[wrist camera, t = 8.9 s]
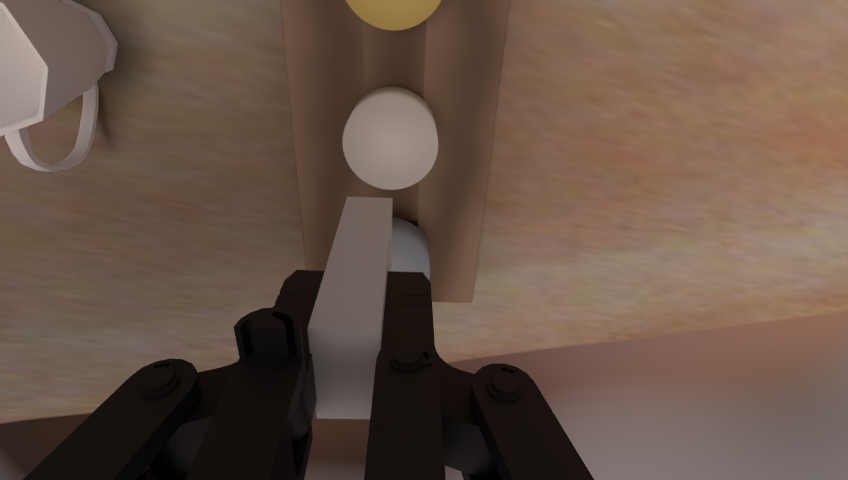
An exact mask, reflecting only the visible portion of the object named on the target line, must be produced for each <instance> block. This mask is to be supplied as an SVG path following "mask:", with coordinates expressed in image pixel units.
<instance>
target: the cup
mask: <svg viewBox="0 0 848 480" xmlns="http://www.w3.org/2000/svg"><path fill="white" fill-rule="evenodd" d="M117 47H118V42H117V41H116V39H115V37H114V36H113V34H112V32H111V31H110V29H109V28H108V26H107V24H106V23H105V21H104V19H103V18H102V16H101V14H100V13H98V12H96V11H93V10H91V9H89V8H87V7H85V6H83V5H81V4H79V3H77V2H75V1H73V0H61V1H60V0H0V136H2V135H4V136H5V139H6V141H7V143H8V145H9V147H10V149H11V151H12V154H13V155H14V156H15V157H16V159H17V160H18V161H19V162H20V163H21V164H23V165H25V166H27V167H30V168H32V169H34V170H37V171H50V172H52V171H60V170H67V169H70V168H72V167H75V166H77V165H80V163H81V162H82V161H83V160H84V159H85V158H86V157H87V155H88V154H89V152H90V149H91V146H92V143H93V140H94V135H95V129H96V123H97V115H98V108H99V87H98V83H97V81H98V80H99V79H100V78H101V77H102V76H103V74H104V73H106V72H108V71H111V70H114V64H115V59H116V53H117ZM81 94H83V108H82V115H81V122H80V128H79V133H78V137H77V141H76V144H75V147H74V150H73V151H72V152H71V153H70V154H69V155H68V156H67V157H66V159H65V160H62V161H59V162H56V163H53V164H47V163H45V162H43V161H40V160H38V159H37V158H36V156H35V155H34V154H33V152H32V149H31V144H30V140H29V135H28V128H27V126H29V125H32V124H35V123H37V122H40V121H43V120H44V119H46V118H47V117H49V116H50V115H52V114H53V113H55V112H56V111H58V110H59V109H61V108H62V107H63V106H65V105H66V104H68V103H69V102H70V101H72V100H74V99H75V98H77V97H78V96H80V95H81Z"/></svg>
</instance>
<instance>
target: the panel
mask: <svg viewBox="0 0 848 480" xmlns="http://www.w3.org/2000/svg"><path fill="white" fill-rule="evenodd" d="M509 2H510V0H441V2H440V4H439V5H438V7H437V8H436V10H435V11H434V12H433V13H432V14H431V15H430V16H429V17H428V18H427V19H426V20H424V21H423V22H421V23H420V24H418V25H416V26H414V27H411V28H408V29H404V30H393V31H392V30H384V29H380V28H377V27H375V26H372V25H370V24H369V23H367V22H365V21H364V20H362V19H361V18H360V17H359V16H358V15H357V14H356V13H355V12H354V11H353V10H352V9H351V8H350V6H349V5H348V4H347V2H346V0H280V3H281V13H282V24H283V34H284V44H285V55H286V65H287V76H288V86H289V96H290V107H291V117H292V127H293V138H294V148H295V158H296V169H297V179H298V190H299V200H300V210H301V221H302V231H303V241H304V252H305V262H306V270H315V271H325V269H326V265H327V262H328V259H329V255H330V252H331V249H332V245H333V242H334V239H335V235H336V232H337V229H338V225H339V222H340V219H341V215H342V212H343V209H344V206H345V202H346V199H347V197H375V198H393V205H392V218H398V219H402V220H405V221H408V222H410V223H412V224H413V225H415V226H416V227H417V228H419V229H420V230H421V232H422V233H423V234H424V236H425V237H426V239H427V242H428V246H429V260H430V278H429V281H430V283H431V295H432V296H431V298H432V302H467V303H472V299H473V291H474V283H475V275H476V267H477V259H478V251H479V243H480V235H481V227H482V219H483V211H484V203H485V195H486V187H487V179H488V171H489V163H490V155H491V147H492V139H493V131H494V123H495V115H496V107H497V99H498V91H499V82H500V74H501V66H502V58H503V50H504V42H505V34H506V26H507V18H508V10H509ZM391 86H394V87H401V88H405V89H407V90H410V91H412V92H414V93H415V94H417V95H418V96H420V97H421V98H422V99H423V100H424V101H425V102H426V103H427V105H428V106H429V108H430V109H431V111H432V113H433V116H434V119H435V122H436V129H437V136H438V153H437V157H436V160H435V163H434V165H433V167H432V168H431V170H430V171H429V172H428V174H427V175H426V176H425V177H424V178H423V179H421V180H420V181H419V182H417V183H415V184H414V185H412V186H409V187H406V188H403V189H397V190H388V189H381V188H377V187H374V186H372V185H370V184H368V183H366V182H365V181H363V180H362V179H360V178H359V177H358V176H357V175H356V174H355V173H354V172H353V170H352V169H351V168H350V166H349V164H348V163H347V161H346V158H345V155H344V151H343V144H342V143H343V132H344V129H345V126H346V123H347V121H348V119H349V117H350V115H351V113H352V111H353V109H354V107H355V105H356V104H357V103H358V101H359V100H360V99H361V98H362V97H363V96H365V95H366V94H368V93H369V92H371V91H373V90H375V89H378V88H381V87H391Z"/></svg>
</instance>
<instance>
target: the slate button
mask: <svg viewBox="0 0 848 480" xmlns="http://www.w3.org/2000/svg"><path fill="white" fill-rule="evenodd" d="M391 271H397V272H423V273H424V274H425V276H426V277H427V279H428V280H429V278H430V260H429V246H428V242H427V239H426V237H425V236H424V234H423V233H422V232H421V230H420V229H419V228H417V227H416V226H415V225H413V224H412V223H410V222H408V221H405V220H402V219H398V218H392V268H391Z"/></svg>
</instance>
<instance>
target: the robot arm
mask: <svg viewBox="0 0 848 480" xmlns="http://www.w3.org/2000/svg"><path fill="white" fill-rule="evenodd" d="M392 205H393V198H375V197H347V199H346V202H345V206H344V209H343V212H342V215H341V219H340V222H339V225H338V229H337V232H336V235H335V239H334V242H333V245H332V249H331V252H330V255H329V259H328V262H327V265H326V269H325V271H315V270H296V271H295V272H294V273H293V274H292V275H290V276H289V277H288V278H287V279H286V280H285V281H284V283H283V286H282V288H281V290H280V294H279V295H278V297H277V300H276V302H275V305H274V307H273V308H263V309H260V310H257V311H254V312H251V313H249V314H247V315H246V316H244V317H243V318H241V319H240V320H239V321H238V322H237V324H236V325H235V326H234V331H235V336H236V341H237V346H238V351H239V355H240V358H239V360H238V362H236V363H233V364H231V365H228V366H225V367H221V368H217V369H212V370H208V371H203V372H198V373H197V370H196V369H195V367H194V366H193V364H192V363H190V362H187V361H185V360H183V359H167V360H162V361H157V362H154V363H152V364H150V365H148V366H145V367H143V368H141V369H140V370H139V371H137V372H136V373H135V374H133V375H132V376H131V377H130V378H129V379H127V380H126V381H125V382H124V383H123V384H122V385H121V386H120V387H119V388H118V389H117V390H116V391H115V392H114V393H113V394H112V395H111V396H110V397H109V398H108V399H107V400H106V401H105V402H103V403H102V404H101V405H100V406H99V407H98V408H97V409H96V410H95V411H94V412H93V413H92V414H91V415H90V416H89V417H88V418H87V419H86V420H85V421H84V422H83V423H82V424H81V425H80V426H78V427H77V428H76V430H74V431H73V432H72V433H71V434H70V435H69V436H68V437H67V438H66V439H65V440H64V441H63V442H62V443H61V444H60V445H59V446H58V447H57V448H56V449H54V451H52V452H51V454H49V455H48V456H47V457H46V458H45V459H44V460H43V461H42V462H41V463H40V464H39V465H38V466H37V467H36V468H35V469H34V470H33V471H32V472H31V473H29V475H27V476H26V477H25V478H24V479H23V480H304V477H305V472H306V467H307V463H308V458H309V453H310V449H311V444H312V440H313V437H312V423H311V422H312V418H313V413H314V409H315V407H316V417H317V418H329V419H335V418H336V419H370V426H369V437H368V446H367V456H366V466H365V477H364V480H445V466H448V467H451V468H454V469H457V470H460V471H462V476H463V479H464V480H594V479H593V477H592V476H591V474H590V472H589V471H588V469H587V468H586V466H585V464H584V463H583V461H582V459H581V458H580V456H579V454H578V453H577V451H576V450H575V448H574V446H573V445H572V443H571V441H570V440H569V438H568V436H567V435H566V433H565V432H564V430H563V428H562V426H561V425H560V424H559V422H558V420H557V418H556V417H555V415H554V413H553V412H552V410H551V408H550V407H549V405H548V404H547V402H546V400H545V399H544V397H543V395H542V394H541V392H540V390H539V389H538V387H537V385H536V384H535V382H534V381H533V380H532V379H531V378H530V377H529V375H528V374H526V373H525V372H524V371H522V370H520V369H519V368H517V367H514V366H511V365H507V364H490V365H487V366H484V367H482V368H481V369H480V370H478V371H477V372H476V373H475V374H472V373H469V372H465V371H461V370H458V369H456V368H454V367H452V366H450V365H449V364H447V363H445V362H444V361H443V360H442V359H441V358H440V357H439V355H438V353H437V352H436V349H435V345H434V328H433V312H432V298H431V296H432V295H431V283H430V281H429V280H428V279H427V277H426V276H425V274H424V273H423V272H397V271H391V268H392Z"/></svg>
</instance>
